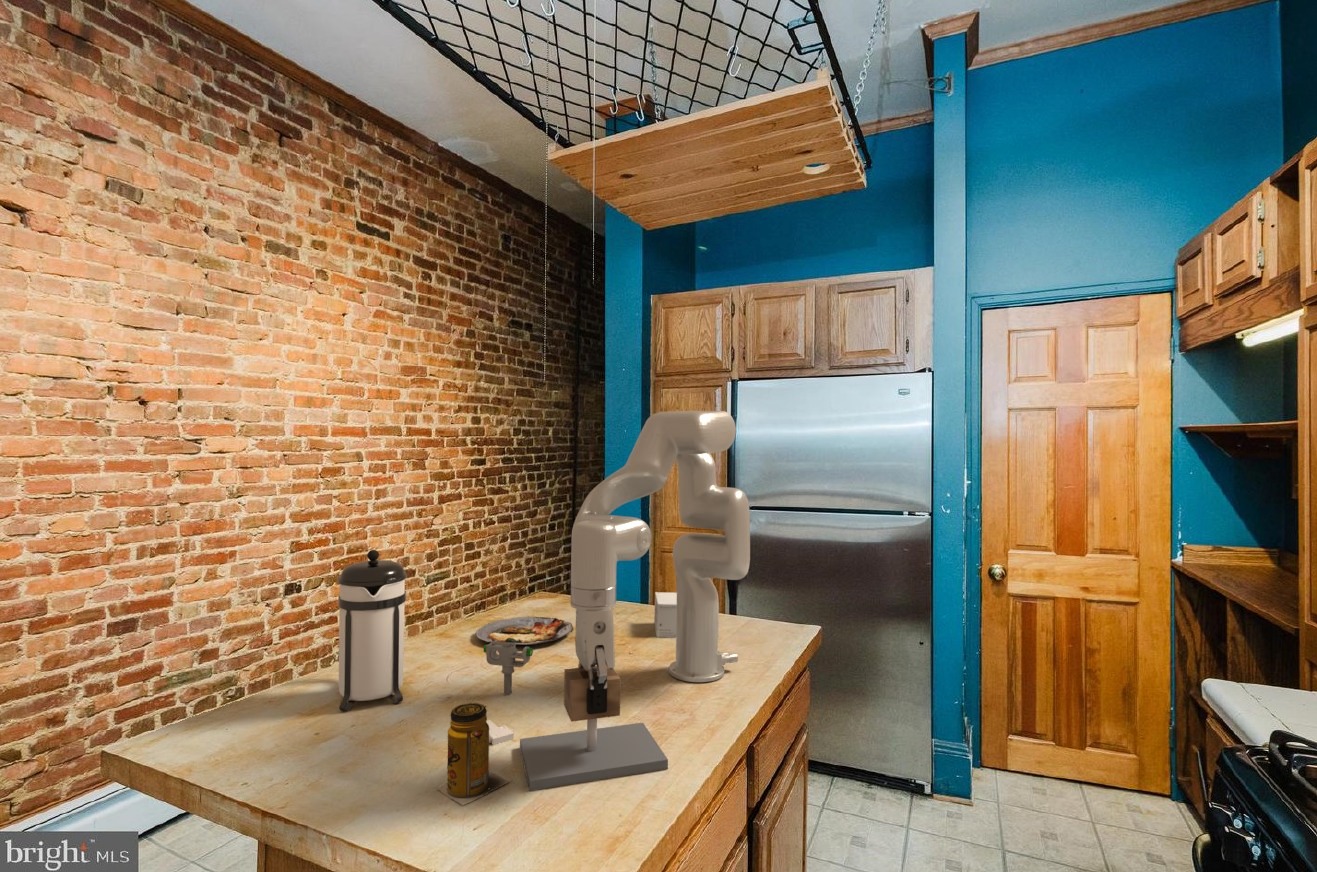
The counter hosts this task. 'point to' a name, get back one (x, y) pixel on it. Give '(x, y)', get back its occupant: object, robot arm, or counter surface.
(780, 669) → the counter surface
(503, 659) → the mechanical component
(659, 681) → the counter surface
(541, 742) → the pin board
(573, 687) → the hollow block
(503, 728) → the corner connector
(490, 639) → the food plate
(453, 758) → the condiment
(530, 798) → the counter surface
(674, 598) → the supplement box
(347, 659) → the coffee press
